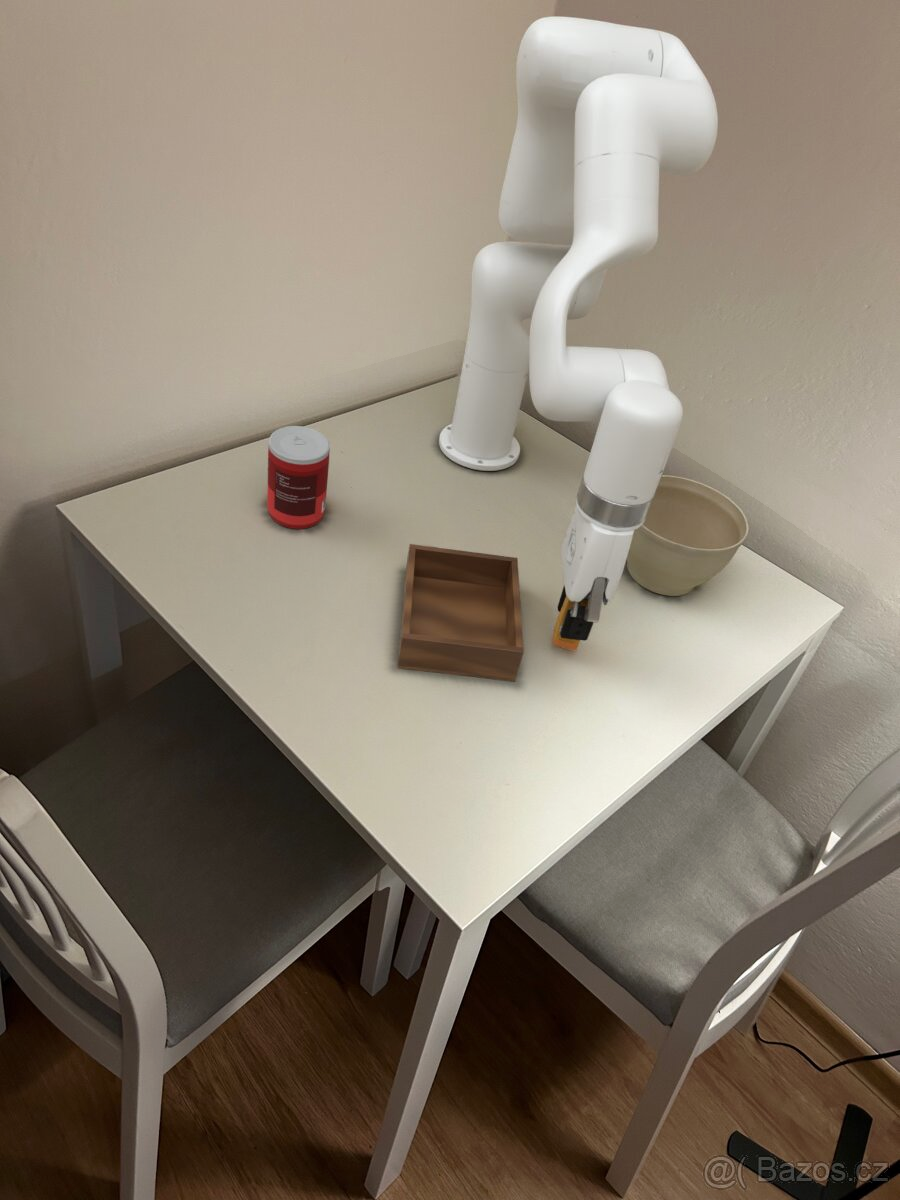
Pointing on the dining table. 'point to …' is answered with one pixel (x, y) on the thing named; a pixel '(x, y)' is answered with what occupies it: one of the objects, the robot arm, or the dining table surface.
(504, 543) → the dining table surface
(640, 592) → the dining table surface
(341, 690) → the dining table surface
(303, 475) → the canned food
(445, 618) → the wooden tray
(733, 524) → the planter bowl
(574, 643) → the supplement box
